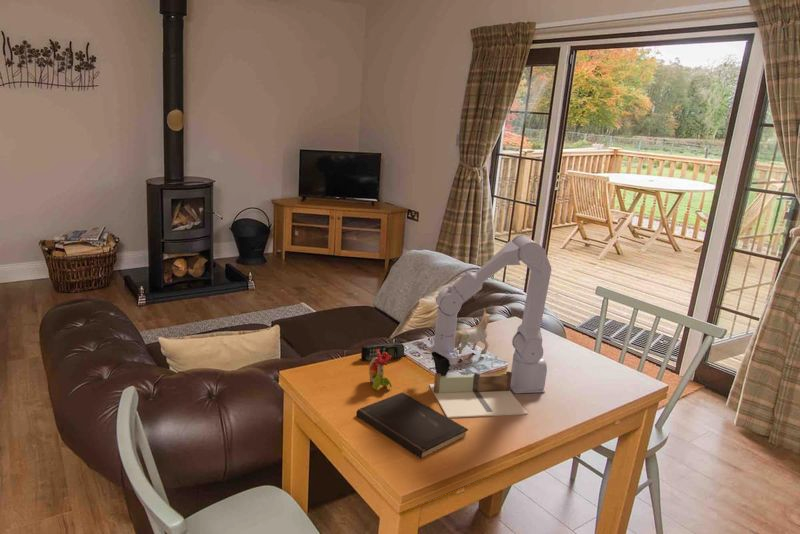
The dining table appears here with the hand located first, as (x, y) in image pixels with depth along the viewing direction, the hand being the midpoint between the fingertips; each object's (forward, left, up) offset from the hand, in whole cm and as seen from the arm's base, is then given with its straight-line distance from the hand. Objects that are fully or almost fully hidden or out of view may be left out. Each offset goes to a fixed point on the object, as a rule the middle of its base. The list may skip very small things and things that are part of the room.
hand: (440, 377), depth 164 cm
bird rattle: (+18, -2, -3) cm, 18 cm away
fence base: (-14, +4, -2) cm, 15 cm away
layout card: (-8, +8, -3) cm, 12 cm away
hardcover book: (+13, +20, -3) cm, 24 cm away
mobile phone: (+12, -20, -3) cm, 23 cm away
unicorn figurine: (-15, -22, -3) cm, 27 cm away
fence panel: (-2, +4, -2) cm, 5 cm away
